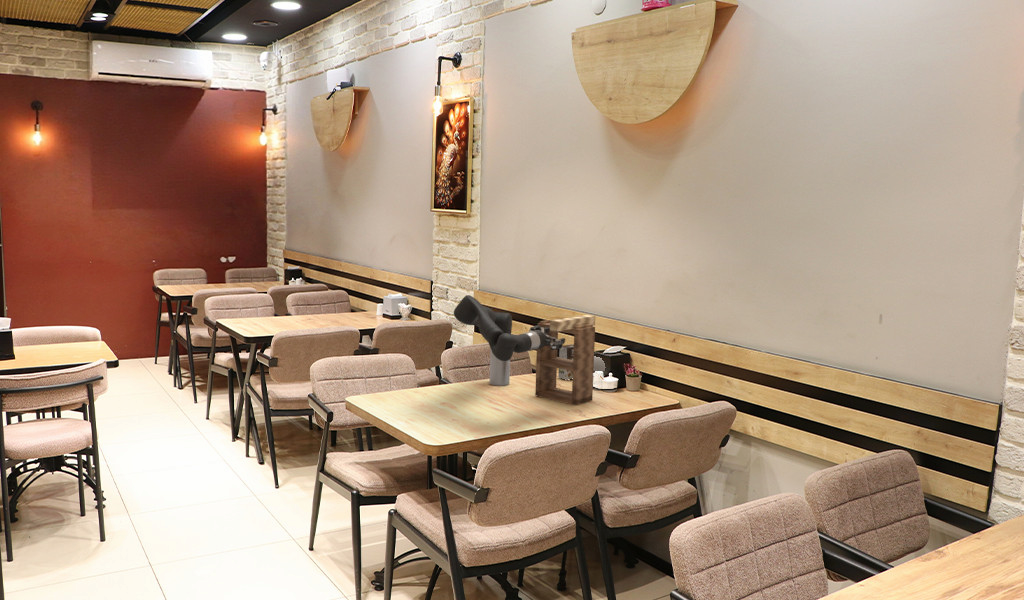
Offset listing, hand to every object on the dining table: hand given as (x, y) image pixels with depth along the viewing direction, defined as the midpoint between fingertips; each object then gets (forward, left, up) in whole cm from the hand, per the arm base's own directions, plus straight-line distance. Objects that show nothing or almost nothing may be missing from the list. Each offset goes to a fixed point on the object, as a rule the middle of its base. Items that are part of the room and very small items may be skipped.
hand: (556, 335), depth 325 cm
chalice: (-33, +30, -30) cm, 54 cm away
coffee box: (-51, +17, -30) cm, 62 cm away
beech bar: (-8, +8, +2) cm, 12 cm away
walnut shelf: (-14, +7, -30) cm, 34 cm away
